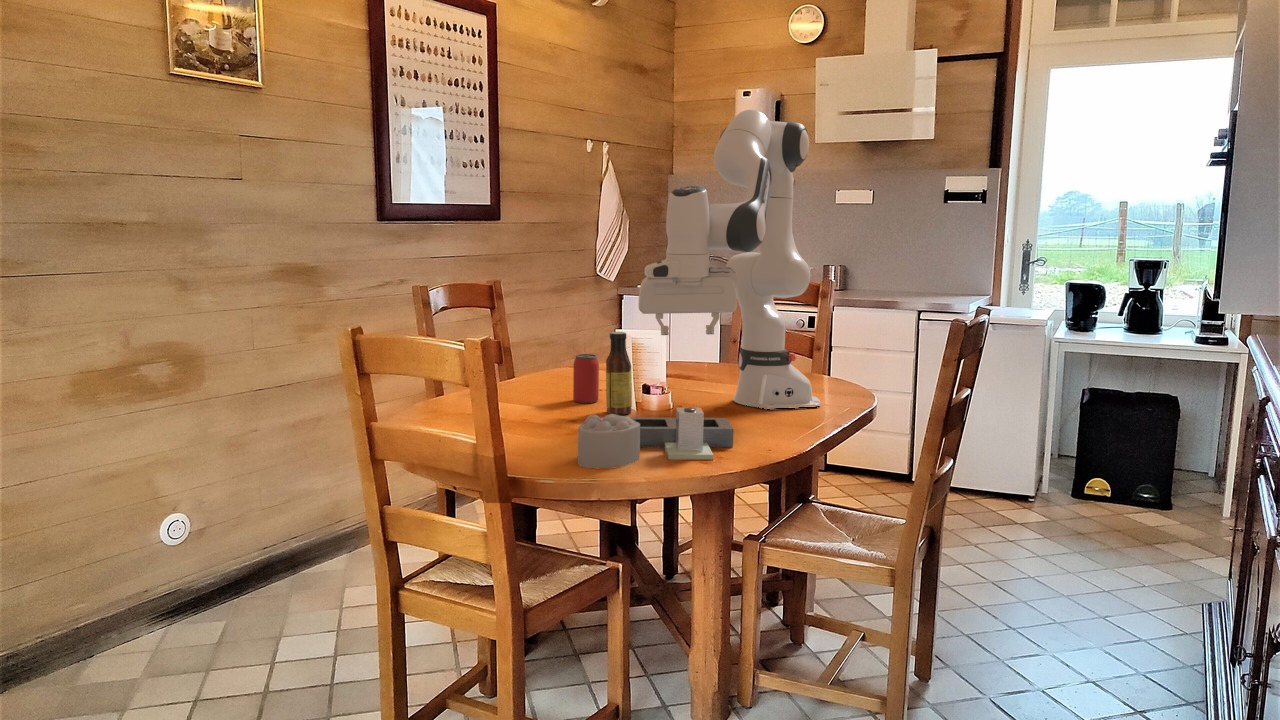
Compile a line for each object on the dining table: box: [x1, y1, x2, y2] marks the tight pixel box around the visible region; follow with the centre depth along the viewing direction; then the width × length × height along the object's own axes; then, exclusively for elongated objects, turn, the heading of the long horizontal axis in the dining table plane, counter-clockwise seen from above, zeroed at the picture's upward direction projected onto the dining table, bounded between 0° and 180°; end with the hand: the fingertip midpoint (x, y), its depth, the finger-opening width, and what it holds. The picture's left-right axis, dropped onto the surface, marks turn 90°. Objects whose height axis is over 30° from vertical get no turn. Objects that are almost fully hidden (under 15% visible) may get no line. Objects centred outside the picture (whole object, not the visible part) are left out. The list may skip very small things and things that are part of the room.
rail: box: [628, 416, 734, 448], centre depth 184 cm, size 24×10×4 cm, turn 94°
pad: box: [663, 443, 714, 460], centre depth 175 cm, size 9×9×1 cm
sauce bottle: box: [605, 331, 633, 416], centre depth 208 cm, size 6×6×20 cm
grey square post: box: [675, 407, 705, 452], centre depth 175 cm, size 5×5×8 cm
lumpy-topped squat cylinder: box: [577, 413, 641, 469], centre depth 169 cm, size 10×13×9 cm
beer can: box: [572, 353, 600, 404], centre depth 221 cm, size 7×7×12 cm
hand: (687, 334), depth 177 cm, fingers open, 8 cm apart
